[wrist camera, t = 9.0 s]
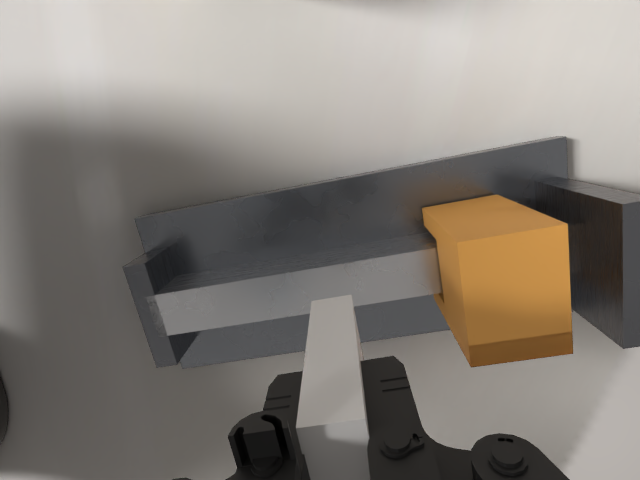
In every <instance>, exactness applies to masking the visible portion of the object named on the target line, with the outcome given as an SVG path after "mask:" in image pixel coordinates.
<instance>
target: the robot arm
mask: <svg viewBox="0 0 640 480" xmlns="http://www.w3.org/2000/svg"><path fill="white" fill-rule="evenodd" d="M7 421H8V406H7V399H6V395H5V390H4V387H3V384H2V382H1V379H0V444H1V442H2V440H3V438H4V435H5V432H6V428H7ZM228 439H229V442H230V445H231V448H232V452H233V455H234V458H235V462H236V465H237V470H236V473H235V474H234V475H233V476H231V477H230V478H228V479H226V480H569V479H568V478H567V477H566V476H565V475H564V474H563V473H562V472H561V471H560V470H559V469H558V468H557V467H556V466H555V465H554V464H553V463H552V462H551V461H550V460H549V459H548V458H547V457H546V456H545V455H544V454H543V453H542V452H541V451H540V450H539V449H538V448H537V447H535V446H534V445H533V444H531V443H530V442H528V441H527V440H525V439H522V438H520V437H517V436H514V435H508V434H500V433H499V434H493V435H487V436H485V437H483V438H481V439H480V440H478V441H477V442H476V443H475V445H474V446H473V448H472V449H471V451H469V450H461V449H455V448H450V447H446V446H444V445H441V444H439V443H437V442H435V441H434V440H433V439H431V438H430V437H429V436H428V435H427V434H426V433H425V431H424V429H423V427H422V425H421V422H420V418H419V415H418V412H417V408H416V405H415V402H414V398H413V395H412V391H411V389H410V385H409V381H408V379H407V375H406V371H405V368H404V365H403V364H402V363H401V362H400V361H399V360H397V359H396V358H395V357H394V356H390V357H384V358H377V359H371V360H364V359H363V354H362V348H361V343H360V337H359V332H358V327H357V321H356V316H355V311H354V305H353V300H352V295H345V296H339V297H333V298H327V299H321V300H315V301H312V302H311V310H310V318H309V326H308V334H307V342H306V350H305V358H304V366H303V371H300V372H294V373H287V374H281V375H278V376H277V377H276V378H275V379H274V381H273V382H272V383H271V384H270V386H269V388H268V392H267V396H266V401H265V404H264V408H263V411H261V412H257V413H254V414H251V415H249V416H247V417H246V418H244V419H242V420H241V421H239V422H238V423H237V424H236V425H235V426H234V427H233V428H232V430H231V432H230V433H229V435H228ZM173 480H191V479H188V478H178V479H173Z"/></svg>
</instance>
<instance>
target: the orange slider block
mask: <svg viewBox="0 0 640 480" xmlns="http://www.w3.org/2000/svg"><path fill="white" fill-rule="evenodd" d="M422 213H423V221H424V226H425V227H426V228H427V229H428V231H429V232H430V233H431V234H432V235H433V237H434V238H435V239H436V241H437V249H438V257H439V265H440V273H441V281H442V289H443V293H438V294H433V295H434V299H435V301H436V303H437V305H438V307H439V309H440V311H441V312H442V314H443V316H444V318H445V320H446V322H447V324H448V325H449V327H450V329H451V331H452V333H453V335H454V337H455V338H456V340H457V342H458V344H459V346H460V348H461V350H462V351H463V353H464V355H465V357H466V359H467V361H468V363H469V364H470V366H471V367H477V366H485V365H492V364H500V363H507V362H514V361H522V360H529V359H536V358H544V357H551V356H558V355H566V354H573V340H572V315H571V291H570V266H569V241H568V224H567V223H564V222H562V221H560V220H557V219H555V218H552V217H550V216H548V215H545V214H543V213H540V212H538V211H536V210H533V209H531V208H528V207H526V206H524V205H521V204H519V203H516V202H514V201H512V200H509V199H507V198H504V197H502V196H500V195H491V196H485V197H480V198H474V199H469V200H463V201H458V202H452V203H446V204H441V205H435V206H430V207H424V208H422Z"/></svg>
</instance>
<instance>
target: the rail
mask: <svg viewBox="0 0 640 480" xmlns="http://www.w3.org/2000/svg"><path fill="white" fill-rule="evenodd" d="M491 195H500V196H502V197H504V198H507V199H509V200H512V201H514V202H516V203H519V204H521V205H524V206H526V207H528V208H531V209H533V210H536V211H538V212H540V213H543V214H545V215H548V216H550V217H552V218H555V219H557V220H560V221H562V222H564V223H567V224H568V241H569V266H570V291H571V312H573V310H574V311H576V312H577V313H578V314H579V315H581V316H582V317H583V318H585V319H586V320H587V321H588V322H590V323H591V324H592V325H594V326H595V327H596V328H597V329H599V330H600V331H601V332H603V333H604V334H605V335H606V336H608V337H609V338H610V339H611V340H613V341H614V342H615V343H617V344H618V345H619V346H620V347H622V348H623V349H625V348H632V347H639V346H640V194H636V193H631V192H627V191H622V190H617V189H613V188H608V187H603V186H599V185H594V184H590V183H585V182H580V181H576V180H571V179H568V168H567V143H566V137H561V136H556V137H550V138H545V139H540V140H535V141H530V142H524V143H519V144H514V145H509V146H503V147H498V148H493V149H488V150H482V151H477V152H472V153H467V154H461V155H456V156H451V157H446V158H441V159H435V160H430V161H425V162H420V163H414V164H409V165H404V166H399V167H393V168H388V169H383V170H378V171H372V172H367V173H362V174H357V175H352V176H346V177H341V178H336V179H331V180H325V181H320V182H315V183H310V184H304V185H299V186H294V187H289V188H284V189H278V190H273V191H268V192H263V193H257V194H252V195H247V196H242V197H236V198H231V199H226V200H221V201H215V202H210V203H205V204H200V205H195V206H189V207H184V208H179V209H174V210H168V211H163V212H158V213H153V214H147V215H143V216H140V217H138V218H135V222H136V225H137V228H138V231H139V234H140V238H141V241H142V244H143V247H144V250H145V254H143V255H142V256H140V257H138V258H137V259H135V260H134V261H132V262H130V263H129V264H127V265H126V266H124V267H123V269H124V272H125V275H126V278H127V281H128V284H129V287H130V290H131V293H132V296H133V299H134V302H135V305H136V308H137V311H138V314H139V317H140V320H141V323H142V326H143V328H144V331H145V334H146V337H147V340H148V343H149V346H150V349H151V352H152V355H153V358H154V361H155V364H156V367H164V366H171V365H177V364H178V363H179V361H180V362H181V365H182V369H184V368H190V367H197V366H204V365H211V364H218V363H225V362H231V361H238V360H245V359H252V358H259V357H266V356H272V355H279V354H286V353H293V352H300V351H305V350H306V342H307V334H308V326H309V318H310V310H311V302H312V301H315V300H321V299H327V298H333V297H339V296H345V295H352V300H353V305H354V311H355V316H356V321H357V327H358V332H359V337H360V343H361V342H368V341H375V340H382V339H388V338H395V337H402V336H409V335H416V334H423V333H429V332H436V331H443V330H450V327H449V325H448V324H447V322H446V320H445V318H444V316H443V314H442V312H441V311H440V309H439V307H438V305H437V303H436V301H435V299H434V295H433V294H438V293H443V289H442V281H441V273H440V265H439V257H438V249H437V241H436V239H435V238H434V237H433V235H432V234H431V233H430V232H429V231H428V229H427V228H426V227H425V226H424V221H423V213H422V208H424V207H430V206H435V205H441V204H446V203H452V202H458V201H463V200H469V199H474V198H480V197H485V196H491Z"/></svg>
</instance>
